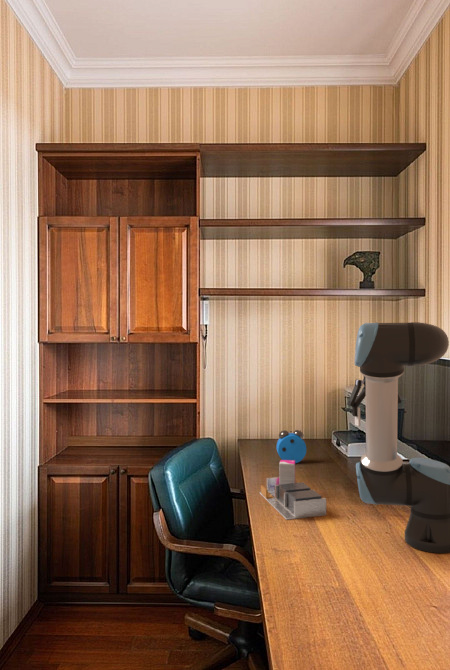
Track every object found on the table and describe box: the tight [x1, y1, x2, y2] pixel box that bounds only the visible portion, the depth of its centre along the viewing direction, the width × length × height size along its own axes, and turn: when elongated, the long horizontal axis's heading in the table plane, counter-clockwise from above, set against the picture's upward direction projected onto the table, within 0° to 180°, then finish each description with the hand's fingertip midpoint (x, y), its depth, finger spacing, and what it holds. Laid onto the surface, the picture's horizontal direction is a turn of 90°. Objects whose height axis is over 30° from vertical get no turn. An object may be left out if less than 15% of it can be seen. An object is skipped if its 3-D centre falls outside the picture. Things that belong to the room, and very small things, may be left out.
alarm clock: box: [276, 429, 307, 464], centre depth 244 cm, size 13×6×15 cm, turn 92°
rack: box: [259, 476, 327, 521], centre depth 188 cm, size 29×14×6 cm, turn 14°
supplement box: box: [278, 459, 296, 485], centre depth 197 cm, size 6×6×12 cm
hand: (374, 424), depth 192 cm, fingers open, 13 cm apart
